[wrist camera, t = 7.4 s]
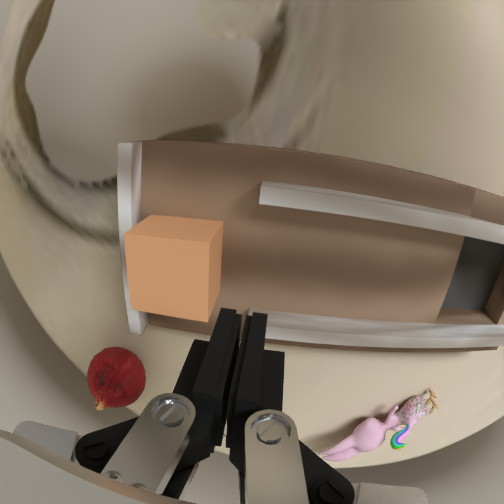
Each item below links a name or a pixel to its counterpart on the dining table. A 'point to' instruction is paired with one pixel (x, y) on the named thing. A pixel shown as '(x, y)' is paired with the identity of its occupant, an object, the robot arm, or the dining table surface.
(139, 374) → the onion
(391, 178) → the trap tube
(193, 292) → the block
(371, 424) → the pink plastic figure
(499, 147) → the dining table surface
